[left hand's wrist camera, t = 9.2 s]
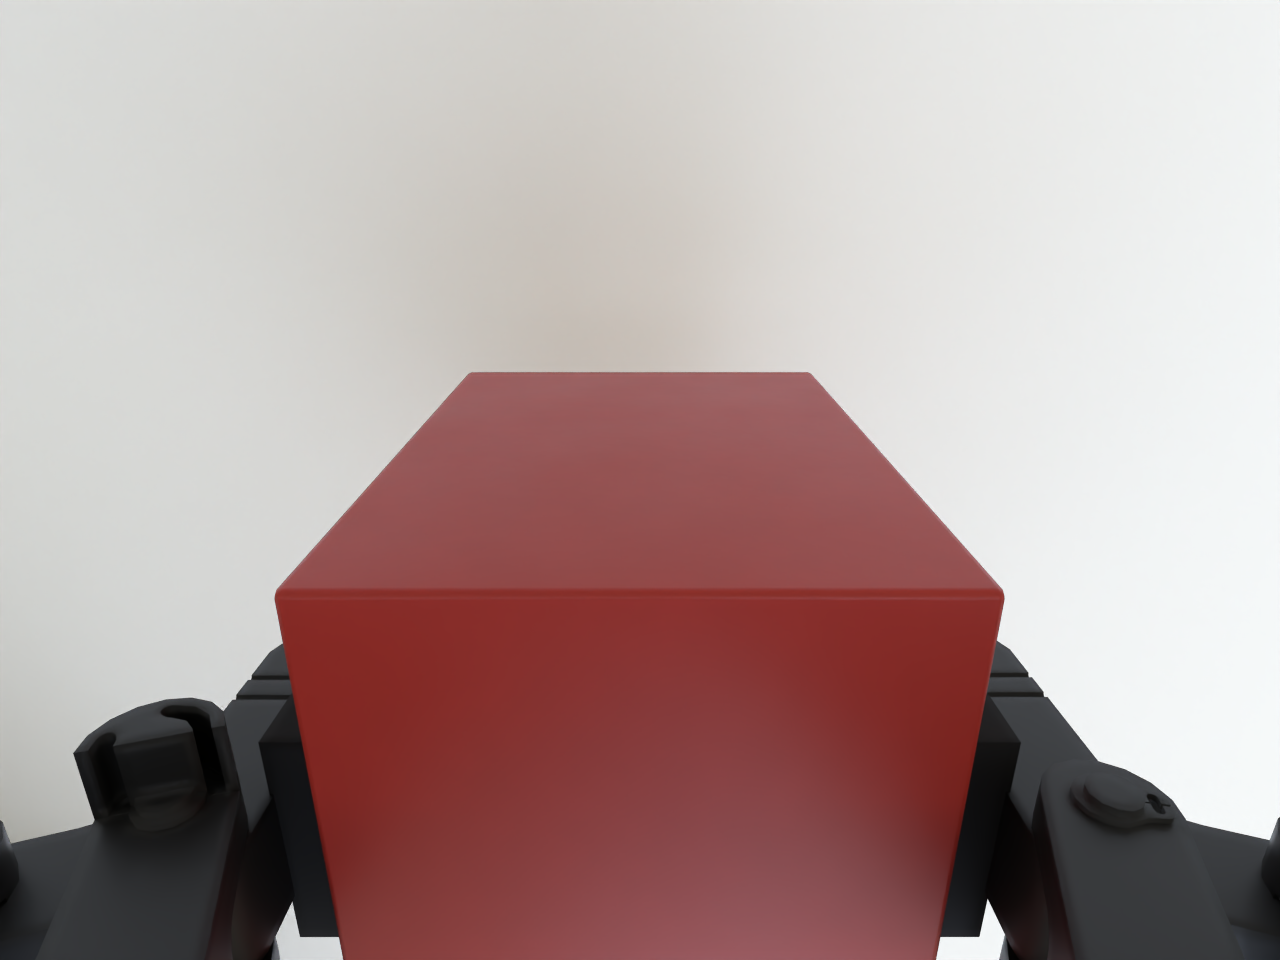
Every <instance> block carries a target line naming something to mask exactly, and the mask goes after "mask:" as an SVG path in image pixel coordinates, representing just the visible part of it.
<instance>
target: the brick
mask: <svg viewBox="0 0 1280 960" xmlns="http://www.w3.org/2000/svg"><path fill="white" fill-rule="evenodd" d="M275 604H276V609H277V614H278V620H279V625H280V630H281V635H282V641H283V646H284V651H285V656H286V661H287V667H288V672H289V677H290V682H291V688H292V693H293V698H294V703H295V709H296V714H297V719H298V724H299V730H300V735H301V740H302V745H303V751H304V756H305V761H306V766H307V772H308V777H309V782H310V787H311V793H312V798H313V803H314V808H315V814H316V819H317V824H318V829H319V835H320V840H321V845H322V850H323V856H324V861H325V866H326V871H327V876H328V882H329V887H330V892H331V897H332V903H333V908H334V913H335V918H336V924H337V929H338V934H339V939H340V945H341V950H342V955H343V960H936V957H937V951H938V946H939V941H940V936H941V930H942V925H943V920H944V915H945V909H946V904H947V899H948V894H949V888H950V883H951V878H952V873H953V867H954V862H955V857H956V851H957V846H958V841H959V836H960V830H961V825H962V820H963V815H964V809H965V804H966V799H967V794H968V788H969V783H970V778H971V773H972V767H973V762H974V757H975V752H976V746H977V741H978V736H979V731H980V725H981V720H982V715H983V710H984V704H985V699H986V694H987V689H988V683H989V678H990V673H991V668H992V662H993V657H994V652H995V647H996V641H997V636H998V631H999V626H1000V620H1001V615H1002V610H1003V604H1004V593H1003V590H1002V589H1001V587H1000V586H999V585H998V584H997V583H996V582H995V581H994V580H993V578H992V577H991V576H990V575H989V574H988V573H987V572H986V571H985V569H984V568H983V567H982V566H981V565H980V564H979V563H978V562H977V560H976V559H975V558H974V557H973V556H972V555H971V554H970V552H969V551H968V550H967V549H966V548H965V547H964V546H963V545H962V543H961V542H960V541H959V540H958V539H957V538H956V537H955V536H954V534H953V533H952V532H951V531H950V530H949V529H948V528H947V527H946V525H945V524H944V523H943V522H942V521H941V520H940V519H939V518H938V516H937V515H936V514H935V513H934V512H933V511H932V510H931V509H930V507H929V506H928V505H927V504H926V503H925V502H924V501H923V500H922V498H921V497H920V496H919V495H918V494H917V493H916V492H915V491H914V489H913V488H912V487H911V486H910V485H909V484H908V483H907V481H906V480H905V479H904V478H903V477H902V476H901V475H900V474H899V472H898V471H897V470H896V469H895V468H894V467H893V466H892V465H891V463H890V462H889V461H888V460H887V459H886V458H885V457H884V456H883V454H882V453H881V452H880V451H879V450H878V449H877V448H876V447H875V445H874V444H873V443H872V442H871V441H870V440H869V439H868V438H867V436H866V435H865V434H864V433H863V432H862V431H861V430H860V429H859V427H858V426H857V425H856V424H855V423H854V422H853V421H852V420H851V418H850V417H849V416H848V415H847V414H846V413H845V412H844V410H843V409H842V408H841V407H840V406H839V405H838V404H837V403H836V401H835V400H834V399H833V398H832V397H831V396H830V395H829V394H828V392H827V391H826V390H825V389H824V388H823V387H822V386H821V385H820V383H819V382H818V381H817V380H816V379H815V378H814V377H813V376H812V374H810V373H808V372H472V373H469V374H468V375H467V376H466V377H465V378H464V380H463V381H462V382H461V383H460V384H459V385H458V386H457V387H456V389H455V390H454V391H453V392H452V393H451V394H450V395H449V396H448V398H447V399H446V400H445V401H444V402H443V403H442V404H441V405H440V407H439V408H438V409H437V410H436V411H435V412H434V413H433V414H432V416H431V417H430V418H429V419H428V420H427V421H426V422H425V423H424V425H423V426H422V427H421V428H420V429H419V430H418V431H417V432H416V434H415V435H414V436H413V437H412V438H411V439H410V440H409V441H408V442H407V444H406V445H405V446H404V447H403V448H402V449H401V450H400V451H399V453H398V454H397V455H396V456H395V457H394V458H393V459H392V460H391V462H390V463H389V464H388V465H387V466H386V467H385V468H384V469H383V471H382V472H381V473H380V474H379V475H378V476H377V477H376V478H375V480H374V481H373V482H372V483H371V484H370V485H369V486H368V487H367V489H366V490H365V491H364V492H363V493H362V494H361V495H360V496H359V498H358V499H357V500H356V501H355V502H354V503H353V504H352V505H351V507H350V508H349V509H348V510H347V511H346V512H345V513H344V514H343V516H342V517H341V518H340V519H339V520H338V521H337V522H336V523H335V525H334V526H333V527H332V528H331V529H330V530H329V531H328V532H327V534H326V535H325V536H324V537H323V538H322V539H321V540H320V541H319V543H318V544H317V545H316V546H315V547H314V548H313V549H312V550H311V552H310V553H309V554H308V555H307V556H306V557H305V558H304V559H303V561H302V562H301V563H300V564H299V565H298V566H297V567H296V568H295V570H294V571H293V572H292V573H291V574H290V575H289V576H288V577H287V579H286V580H285V581H284V582H283V583H282V584H281V585H280V586H279V588H278V589H277V590H276V594H275Z"/></svg>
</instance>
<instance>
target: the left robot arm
mask: <svg viewBox="0 0 1280 960" xmlns="http://www.w3.org/2000/svg"><path fill="white" fill-rule="evenodd" d="M1043 693H1044V692H1043V691H1042V689H1041V688H1040V687H1039V686H1038V684H1037V683H1036V682H1035V681H1034V679H1033V678H1032V677H1029V676H1028V672H1027V670H1026V669H1025V668H1024V667H1023V665H1022V664H1021V663H1020V662H1019V660H1018V659H1017V658H1016V657H1015V655H1014V654H1013V653H1012V651H1011V650H1010V649H1008V648H1007V647H1005V646H1004V645H1002V644H1001V643H999V642H998V641H996V647H995V652H994V657H993V662H992V668H991V673H990V678H989V683H988V689H987V694H986V699H985V704H984V710H983V715H982V720H981V725H980V731H979V736H978V741H977V746H976V752H975V757H974V762H973V767H972V773H971V778H970V783H969V788H968V794H967V799H966V804H965V809H964V815H963V820H962V825H961V830H960V836H959V841H958V846H957V851H956V857H955V862H954V867H953V873H952V878H951V883H950V888H949V894H948V899H947V904H946V909H945V915H944V920H943V925H942V930H941V936H940V937H979V936H980V931H981V927H982V922H983V917H984V913H985V908H986V903H987V899H988V900H989V902H990V904H991V906H992V908H993V910H994V913H995V915H996V917H997V919H998V921H999V923H1000V925H1001V927H1002V929H1003V931H1004V933H1005V937H1004V941H1003V946H1002V950H1001V954H1000V959H999V960H1280V817H1279V818H1278V820H1277V823H1276V825H1275V828H1274V831H1273V833H1272V836H1271V839H1270V840H1266V839H1261V838H1257V837H1252V836H1248V835H1244V834H1239V833H1235V832H1230V831H1226V830H1221V829H1217V828H1213V827H1208V826H1204V825H1200V824H1197V823H1193V822H1190V821H1186V819H1185V818H1184V816H1183V815H1182V813H1181V812H1180V810H1179V809H1178V807H1177V806H1176V805H1175V803H1174V802H1173V800H1172V799H1170V798H1169V797H1168V796H1167V795H1165V794H1164V793H1163V792H1162V791H1160V790H1159V789H1158V788H1157V787H1156V786H1154V785H1153V784H1152V783H1150V782H1148V781H1146V780H1145V779H1143V778H1141V777H1139V776H1137V775H1135V774H1133V773H1131V772H1129V771H1127V770H1125V769H1122V768H1119V767H1115V766H1112V765H1109V764H1105V763H1102V762H1099V761H1098V760H1097V759H1096V758H1095V757H1094V755H1093V754H1092V753H1091V752H1090V750H1089V749H1088V748H1087V747H1086V745H1085V744H1084V743H1083V741H1082V740H1081V739H1080V738H1079V736H1078V735H1077V734H1076V733H1075V731H1074V730H1073V729H1072V728H1071V726H1070V725H1069V724H1068V722H1067V721H1066V720H1065V719H1064V717H1063V716H1062V715H1061V714H1060V712H1059V711H1058V710H1057V709H1056V707H1055V706H1054V705H1053V703H1052V702H1051V701H1050V700H1049V698H1048V697H1044V694H1043ZM236 696H237V697H236V700H232V701H231V702H230V704H229V705H228V706H227V708H226V709H225V710H224V711H222V710H221V709H220V708H219V707H217V706H216V705H215V704H214V703H213V702H210V701H205V700H200V699H196V698H181V699H167V700H163V701H159V702H155V703H151V704H147V705H144V706H140V707H137V708H135V709H132V710H130V711H128V712H126V713H124V714H121V715H119V716H117V717H115V718H113V719H110V720H109V721H108V722H106V723H105V724H103V725H102V726H101V727H99V728H98V729H96V730H95V731H93V732H92V733H91V734H89V735H88V736H87V737H86V738H85V739H84V741H83V742H82V743H81V744H80V746H79V747H78V748H77V749H76V751H75V752H74V753H73V754H74V757H75V760H76V763H77V766H78V770H79V773H80V776H81V779H82V782H83V785H84V788H85V791H86V794H87V798H88V801H89V804H90V807H91V810H92V813H93V816H94V819H95V820H94V823H93V824H92V825H88V826H85V827H81V828H78V829H73V830H69V831H65V832H60V833H56V834H51V835H47V836H43V837H38V838H34V839H29V840H25V841H21V842H16V843H12V844H11V843H10V841H9V838H8V835H7V833H6V830H5V827H4V825H3V822H2V821H0V960H280V956H279V950H278V946H277V941H276V937H275V936H276V934H277V932H278V930H279V928H280V926H281V924H282V922H283V920H284V917H285V915H286V913H287V911H288V909H289V907H290V905H291V903H292V901H293V906H294V911H295V915H296V920H297V925H298V929H299V934H300V937H339V934H338V929H337V924H336V918H335V913H334V908H333V903H332V897H331V892H330V887H329V882H328V876H327V871H326V866H325V861H324V856H323V850H322V845H321V840H320V835H319V829H318V824H317V819H316V814H315V808H314V803H313V798H312V793H311V787H310V782H309V777H308V772H307V766H306V761H305V756H304V751H303V745H302V740H301V735H300V730H299V724H298V719H297V714H296V709H295V703H294V698H293V693H292V688H291V682H290V677H289V672H288V667H287V661H286V656H285V651H284V646H283V644H281V645H280V646H278V647H277V648H275V649H274V650H272V651H271V652H270V653H269V654H268V655H267V657H266V658H265V659H264V660H263V662H262V663H261V664H260V665H259V667H258V668H257V669H256V671H255V672H254V673H253V674H252V679H251V680H248V681H247V682H246V683H245V685H244V686H243V687H242V688H241V690H240V691H239V692H238V694H237V695H236Z"/></svg>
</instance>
